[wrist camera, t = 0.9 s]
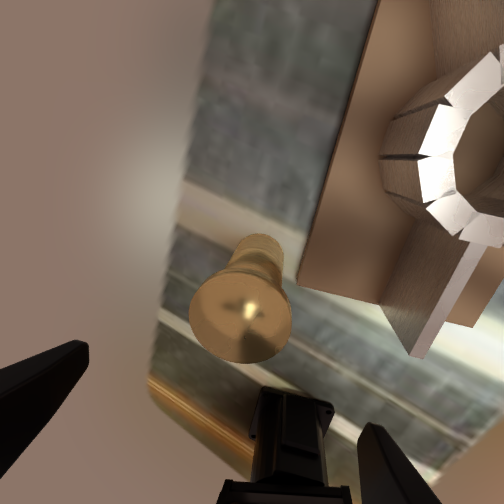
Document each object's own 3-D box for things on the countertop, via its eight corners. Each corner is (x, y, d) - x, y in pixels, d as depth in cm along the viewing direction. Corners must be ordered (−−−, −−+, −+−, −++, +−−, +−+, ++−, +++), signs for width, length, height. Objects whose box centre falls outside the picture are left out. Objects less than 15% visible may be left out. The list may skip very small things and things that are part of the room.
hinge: (438, 318, 17) (491, 376, 13) (307, 286, 18) (313, 331, 13) (644, -52, 11) (916, -213, 6) (424, -85, 11) (517, -255, 7)
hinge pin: (282, 291, 20) (277, 374, 12) (224, 277, 20) (184, 349, 12) (298, 234, 18) (304, 290, 10) (234, 219, 18) (194, 263, 11)
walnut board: (463, 319, 18) (472, 327, 17) (296, 278, 19) (296, 284, 18) (693, -65, 11) (730, -86, 10) (409, -106, 12) (419, -129, 11)
